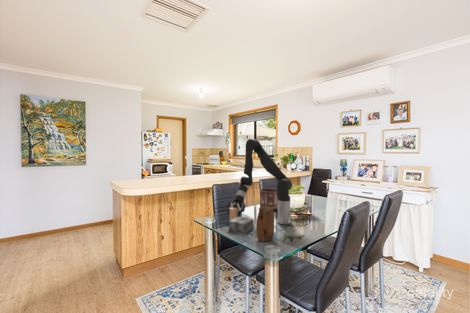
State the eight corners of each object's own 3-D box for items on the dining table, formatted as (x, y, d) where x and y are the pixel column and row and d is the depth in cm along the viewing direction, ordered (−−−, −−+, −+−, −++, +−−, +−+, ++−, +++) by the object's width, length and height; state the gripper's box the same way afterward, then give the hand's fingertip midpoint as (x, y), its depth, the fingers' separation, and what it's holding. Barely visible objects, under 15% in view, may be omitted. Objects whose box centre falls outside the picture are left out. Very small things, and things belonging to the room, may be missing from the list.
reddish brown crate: (266, 212, 199) (266, 192, 199) (255, 207, 215) (256, 189, 215) (282, 211, 207) (283, 191, 206) (271, 206, 223) (272, 188, 222)
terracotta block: (238, 221, 176) (238, 208, 176) (235, 222, 172) (235, 209, 172) (232, 219, 178) (232, 207, 178) (229, 221, 174) (229, 208, 174)
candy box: (310, 213, 201) (310, 194, 201) (311, 215, 195) (312, 196, 195) (294, 212, 202) (294, 194, 202) (295, 214, 197) (295, 195, 196)
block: (265, 235, 148) (266, 204, 147) (275, 239, 142) (275, 207, 141) (254, 239, 140) (255, 207, 140) (263, 243, 135) (264, 210, 134)
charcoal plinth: (253, 227, 162) (253, 218, 162) (246, 233, 151) (246, 224, 151) (237, 224, 169) (237, 216, 168) (228, 229, 157) (229, 220, 157)
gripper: (230, 193, 184) (223, 210, 175) (246, 195, 178) (239, 213, 168) (233, 198, 189) (226, 216, 179) (249, 201, 183) (242, 218, 173)
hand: (233, 214), depth 174 cm, fingers open, 8 cm apart
